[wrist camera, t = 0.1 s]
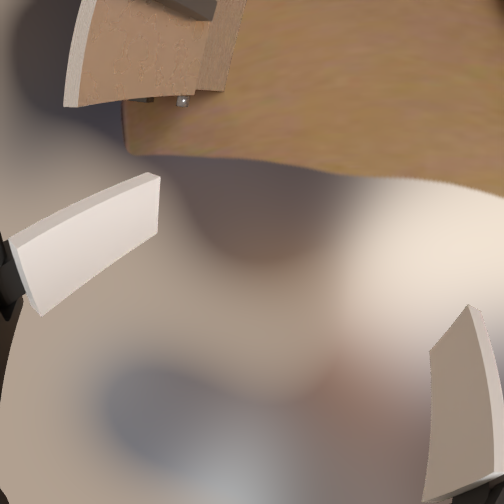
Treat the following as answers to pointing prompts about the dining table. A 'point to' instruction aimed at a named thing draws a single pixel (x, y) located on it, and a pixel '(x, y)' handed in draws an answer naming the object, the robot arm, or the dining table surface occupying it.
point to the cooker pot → (216, 49)
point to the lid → (136, 49)
